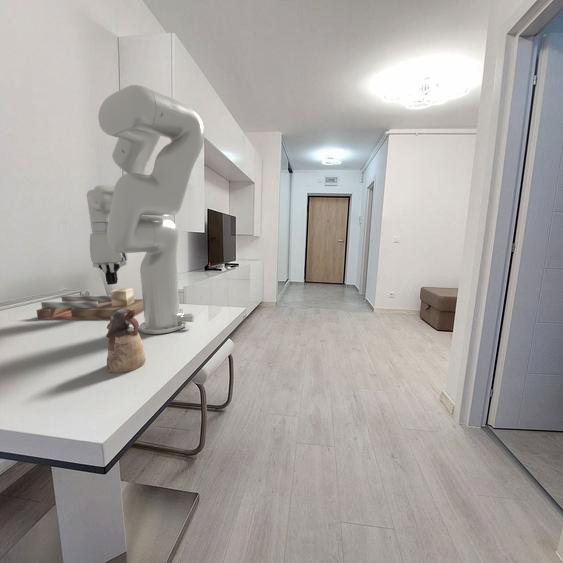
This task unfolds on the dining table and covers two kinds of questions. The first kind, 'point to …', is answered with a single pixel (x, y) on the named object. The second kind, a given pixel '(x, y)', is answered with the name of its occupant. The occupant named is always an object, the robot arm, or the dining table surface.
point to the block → (122, 297)
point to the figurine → (124, 343)
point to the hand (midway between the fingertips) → (112, 283)
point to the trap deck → (85, 308)
